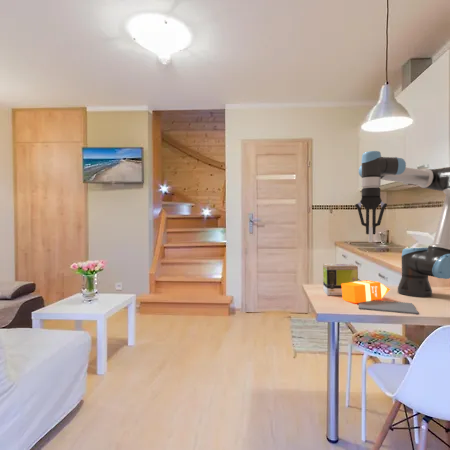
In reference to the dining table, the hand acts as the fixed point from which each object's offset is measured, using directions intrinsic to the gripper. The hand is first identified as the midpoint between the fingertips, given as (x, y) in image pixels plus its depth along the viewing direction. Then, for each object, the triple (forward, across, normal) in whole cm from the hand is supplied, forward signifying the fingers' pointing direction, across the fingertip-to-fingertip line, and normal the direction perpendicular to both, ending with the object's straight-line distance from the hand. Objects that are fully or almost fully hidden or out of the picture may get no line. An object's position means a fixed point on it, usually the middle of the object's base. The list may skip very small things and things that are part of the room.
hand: (370, 241), depth 147 cm
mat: (+28, -6, 0) cm, 28 cm away
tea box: (+28, +13, -19) cm, 36 cm away
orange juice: (+24, +9, -2) cm, 26 cm away
